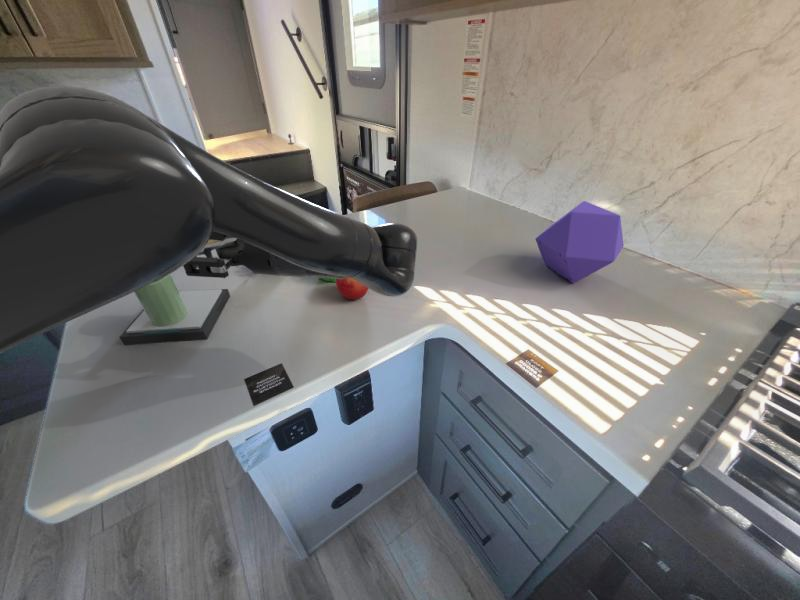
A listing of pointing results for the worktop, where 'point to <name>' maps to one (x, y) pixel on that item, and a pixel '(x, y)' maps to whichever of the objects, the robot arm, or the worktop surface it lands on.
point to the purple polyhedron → (581, 241)
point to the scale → (194, 326)
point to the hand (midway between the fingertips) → (186, 243)
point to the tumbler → (162, 302)
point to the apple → (351, 288)
